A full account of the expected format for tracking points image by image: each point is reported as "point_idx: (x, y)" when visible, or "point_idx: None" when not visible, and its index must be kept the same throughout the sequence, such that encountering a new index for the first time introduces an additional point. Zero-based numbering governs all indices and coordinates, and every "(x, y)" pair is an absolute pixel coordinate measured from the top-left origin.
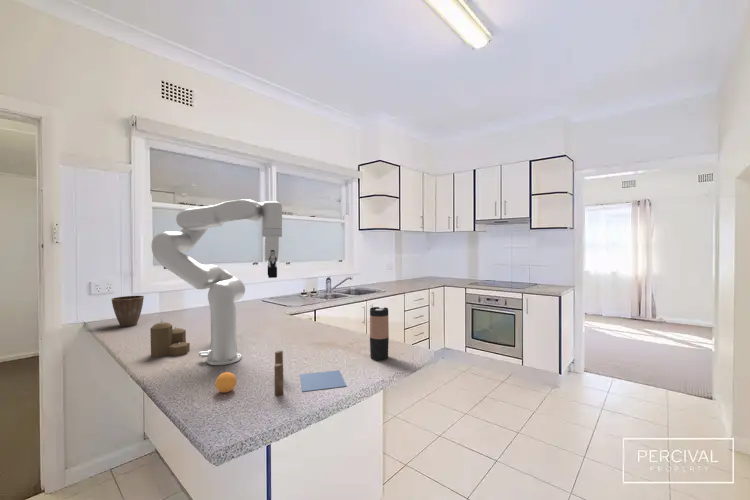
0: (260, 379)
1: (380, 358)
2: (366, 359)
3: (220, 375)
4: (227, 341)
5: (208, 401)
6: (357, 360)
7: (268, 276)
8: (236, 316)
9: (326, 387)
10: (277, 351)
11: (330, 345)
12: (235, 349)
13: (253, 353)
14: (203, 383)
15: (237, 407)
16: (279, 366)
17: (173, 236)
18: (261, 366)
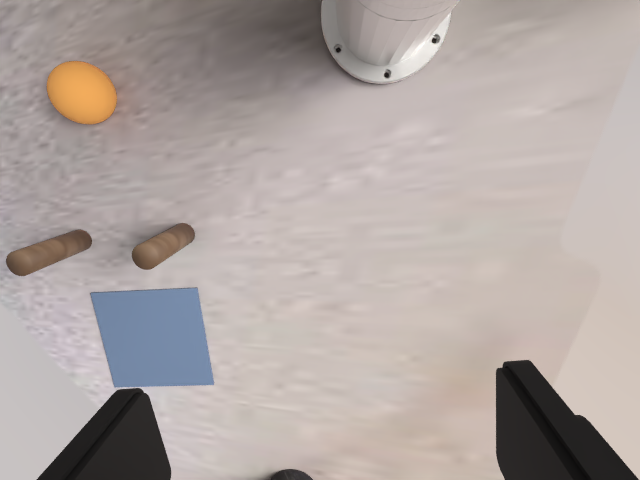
0: (178, 182)
1: None
2: (286, 458)
3: (54, 74)
4: (340, 13)
5: (45, 61)
6: (283, 436)
7: (110, 399)
8: (412, 12)
9: (108, 346)
10: (149, 252)
11: (449, 387)
12: (370, 56)
13: (438, 122)
14: (166, 4)
15: (15, 148)
16: (8, 266)
17: None
18: (286, 171)
